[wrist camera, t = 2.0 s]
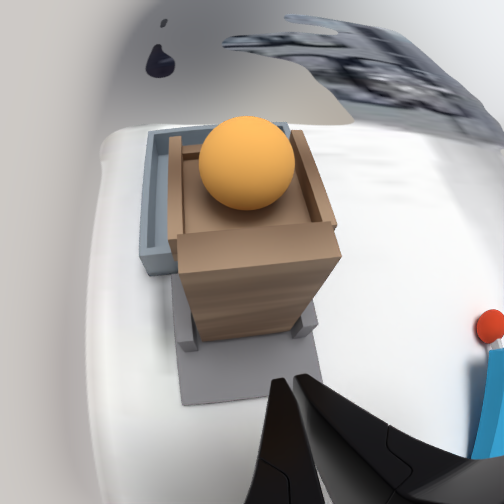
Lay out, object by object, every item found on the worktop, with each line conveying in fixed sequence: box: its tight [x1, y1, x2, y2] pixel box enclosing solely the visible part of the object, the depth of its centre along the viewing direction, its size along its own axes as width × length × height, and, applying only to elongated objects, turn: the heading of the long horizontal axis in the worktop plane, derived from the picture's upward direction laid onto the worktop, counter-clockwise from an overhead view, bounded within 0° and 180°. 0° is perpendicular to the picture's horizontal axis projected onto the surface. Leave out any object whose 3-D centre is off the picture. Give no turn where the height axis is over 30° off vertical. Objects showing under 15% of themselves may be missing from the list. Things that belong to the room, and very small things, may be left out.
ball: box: [199, 116, 295, 210], centre depth 13 cm, size 4×4×4 cm
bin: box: [139, 122, 291, 276], centre depth 27 cm, size 14×14×4 cm
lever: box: [471, 309, 504, 459], centre depth 19 cm, size 7×7×18 cm
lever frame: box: [171, 274, 323, 405], centre depth 21 cm, size 10×10×4 cm
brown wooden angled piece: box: [167, 130, 342, 342], centre depth 18 cm, size 8×7×11 cm
